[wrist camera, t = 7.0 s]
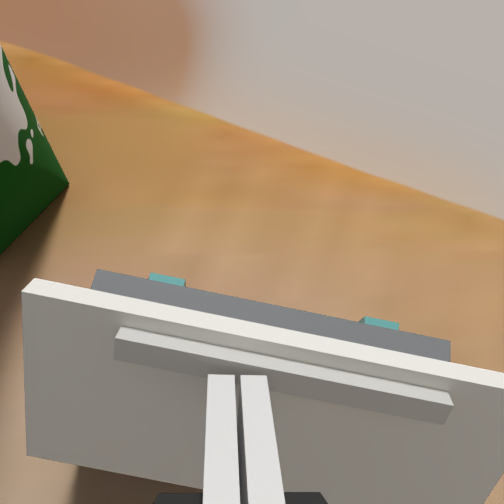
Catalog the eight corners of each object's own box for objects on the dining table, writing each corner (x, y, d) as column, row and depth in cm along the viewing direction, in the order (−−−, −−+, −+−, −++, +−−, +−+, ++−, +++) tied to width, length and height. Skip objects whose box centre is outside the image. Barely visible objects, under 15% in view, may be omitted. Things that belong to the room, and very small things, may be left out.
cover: (37, 437, 18) (17, 469, 16) (34, 278, 14) (10, 302, 13) (453, 518, 18) (465, 556, 17) (538, 380, 15) (561, 413, 14)
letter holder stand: (82, 440, 24) (40, 437, 18) (124, 303, 27) (100, 258, 21) (384, 499, 25) (449, 517, 18) (392, 358, 28) (450, 330, 21)
